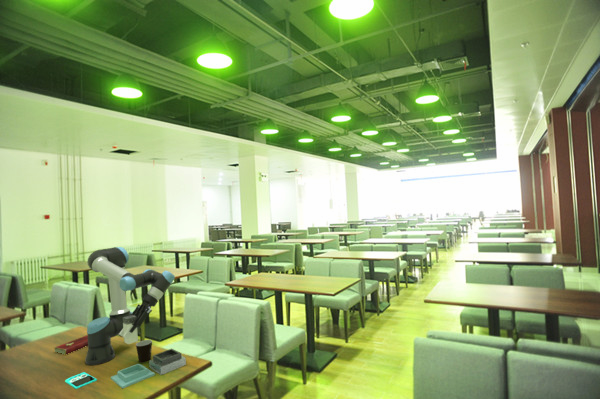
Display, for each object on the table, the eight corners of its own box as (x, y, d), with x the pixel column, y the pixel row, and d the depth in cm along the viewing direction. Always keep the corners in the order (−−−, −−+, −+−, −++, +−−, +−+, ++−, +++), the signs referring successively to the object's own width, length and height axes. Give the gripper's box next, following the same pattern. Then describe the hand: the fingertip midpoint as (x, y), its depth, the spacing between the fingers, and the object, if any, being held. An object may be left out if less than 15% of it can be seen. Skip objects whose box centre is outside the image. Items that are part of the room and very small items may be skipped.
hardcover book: (97, 342, 232) (97, 336, 232) (65, 356, 213) (65, 349, 213) (86, 340, 237) (86, 334, 237) (54, 353, 218) (53, 347, 218)
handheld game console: (84, 373, 187) (84, 371, 187) (97, 381, 177) (97, 378, 177) (63, 382, 179) (63, 379, 179) (76, 390, 169) (76, 387, 169)
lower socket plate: (110, 378, 178) (110, 372, 178) (141, 366, 189) (141, 360, 190) (122, 388, 167) (122, 381, 167) (154, 375, 179) (154, 368, 179)
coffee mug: (146, 363, 193) (145, 346, 193) (133, 363, 194) (132, 345, 195) (159, 354, 204) (158, 338, 204) (146, 354, 206) (145, 337, 206)
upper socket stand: (149, 367, 188) (148, 355, 188) (173, 358, 198) (172, 347, 198) (161, 375, 178) (160, 362, 178) (185, 364, 188) (185, 352, 189)
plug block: (124, 342, 178) (122, 317, 179) (134, 338, 182) (132, 314, 182) (127, 344, 175) (126, 318, 175) (137, 341, 179) (136, 316, 179)
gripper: (165, 303, 184) (135, 344, 172) (150, 298, 196) (122, 336, 184) (155, 295, 180) (124, 337, 168) (140, 291, 192) (110, 329, 180)
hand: (123, 336), depth 176 cm, fingers closed on plug block, 5 cm apart
